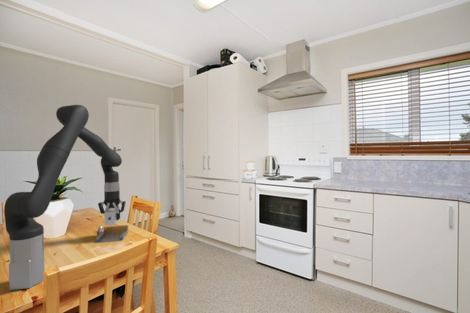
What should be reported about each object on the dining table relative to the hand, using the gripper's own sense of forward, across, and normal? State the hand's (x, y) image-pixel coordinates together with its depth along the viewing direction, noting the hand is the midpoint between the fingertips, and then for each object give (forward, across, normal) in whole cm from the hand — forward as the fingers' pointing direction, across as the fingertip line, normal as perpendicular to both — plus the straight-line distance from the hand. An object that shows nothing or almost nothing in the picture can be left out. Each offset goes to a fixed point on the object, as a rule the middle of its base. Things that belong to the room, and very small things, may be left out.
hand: (112, 219), depth 127 cm
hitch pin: (+9, -9, +8) cm, 16 cm away
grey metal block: (+1, 0, 0) cm, 1 cm away
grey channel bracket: (+9, 0, 0) cm, 10 cm away
